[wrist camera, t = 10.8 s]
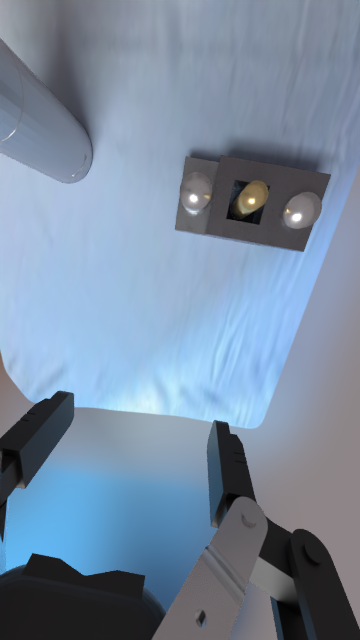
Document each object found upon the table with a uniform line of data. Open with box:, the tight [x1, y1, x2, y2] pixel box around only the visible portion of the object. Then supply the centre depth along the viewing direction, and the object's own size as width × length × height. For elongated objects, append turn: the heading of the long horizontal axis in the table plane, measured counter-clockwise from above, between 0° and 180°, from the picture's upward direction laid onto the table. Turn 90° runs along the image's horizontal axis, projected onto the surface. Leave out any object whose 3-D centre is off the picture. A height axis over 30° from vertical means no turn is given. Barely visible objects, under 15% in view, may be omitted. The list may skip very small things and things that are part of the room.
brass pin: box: [230, 181, 268, 219], centre depth 30 cm, size 3×3×10 cm
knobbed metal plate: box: [175, 155, 331, 252], centre depth 31 cm, size 20×10×6 cm, turn 80°
